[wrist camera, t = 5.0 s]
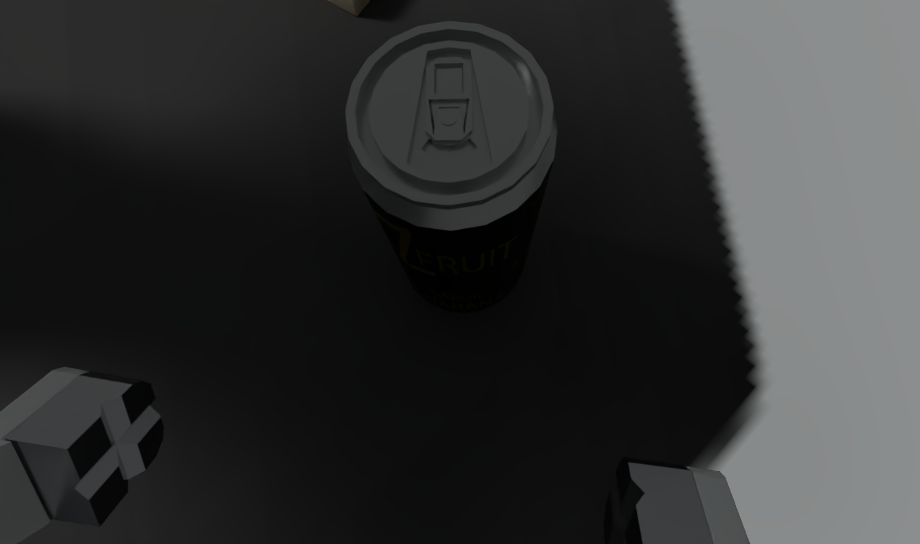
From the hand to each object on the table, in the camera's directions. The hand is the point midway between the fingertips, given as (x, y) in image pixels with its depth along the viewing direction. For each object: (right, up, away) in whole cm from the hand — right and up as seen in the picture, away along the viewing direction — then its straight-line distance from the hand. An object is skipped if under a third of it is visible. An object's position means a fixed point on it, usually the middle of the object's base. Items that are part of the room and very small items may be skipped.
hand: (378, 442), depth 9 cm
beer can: (+2, +4, +15) cm, 16 cm away
